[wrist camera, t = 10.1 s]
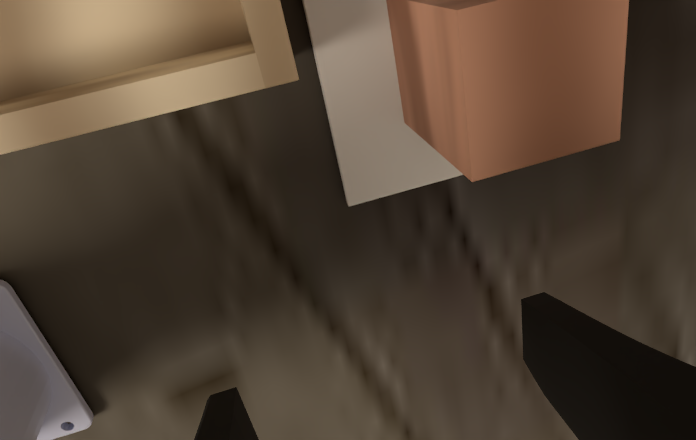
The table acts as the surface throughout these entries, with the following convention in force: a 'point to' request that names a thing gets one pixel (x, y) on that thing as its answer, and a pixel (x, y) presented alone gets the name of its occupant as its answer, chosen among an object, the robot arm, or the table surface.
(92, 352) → the table surface
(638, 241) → the table surface
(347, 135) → the grey mat
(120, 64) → the organiser box
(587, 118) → the terracotta block
